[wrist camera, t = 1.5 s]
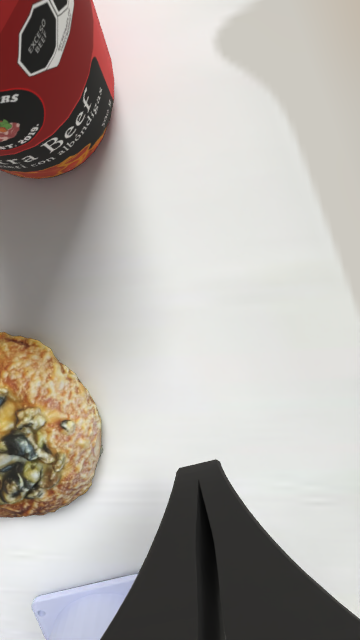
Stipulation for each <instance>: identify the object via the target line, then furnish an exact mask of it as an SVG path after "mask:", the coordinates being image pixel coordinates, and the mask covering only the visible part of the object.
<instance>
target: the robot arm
mask: <svg viewBox="0 0 360 640" xmlns="http://www.w3.org/2000/svg"><path fill="white" fill-rule="evenodd" d="M32 610H33V612H34V614H35V616H36V619H37V621H38V623H39V625H40V628H41V630H42V632H43V634H44V636H45V639H46V640H360V619H359V618H358V617H357V616H355V615H354V614H353V613H352V612H350V611H349V610H348V609H347V608H345V607H344V606H343V605H342V604H340V603H339V602H338V601H337V600H336V599H335V598H334V597H332V596H331V595H330V594H329V593H328V592H327V591H326V590H325V589H323V588H322V587H321V586H320V585H319V584H318V583H317V582H316V581H314V580H313V579H312V578H311V577H310V576H309V575H308V574H307V573H305V572H304V571H303V570H302V569H301V568H300V567H299V566H298V565H297V564H296V563H295V562H294V561H293V560H292V559H291V558H290V557H289V556H288V555H287V554H286V553H285V552H284V551H283V550H282V549H281V547H280V546H279V545H278V544H277V543H276V542H275V541H274V540H273V539H272V538H271V537H270V535H269V534H268V533H267V532H266V531H265V530H264V528H263V527H262V526H261V525H260V524H259V522H258V521H257V520H256V519H255V518H254V516H253V515H252V514H251V512H250V511H249V510H248V508H247V507H246V506H245V504H244V503H243V501H242V500H241V499H240V497H239V496H238V494H237V493H236V491H235V490H234V488H233V487H232V485H231V484H230V482H229V480H228V478H227V477H226V475H225V473H224V471H223V469H222V466H221V463H220V462H219V461H218V460H212V461H208V462H203V463H199V464H195V465H191V466H186V467H182V468H179V469H178V471H177V473H176V478H175V481H174V485H173V489H172V492H171V495H170V498H169V502H168V505H167V507H166V510H165V513H164V516H163V518H162V521H161V524H160V526H159V529H158V531H157V534H156V536H155V538H154V541H153V543H152V545H151V548H150V550H149V552H148V555H147V557H146V559H145V561H144V563H143V565H142V567H141V569H140V571H139V573H137V574H133V575H128V576H124V577H120V578H115V579H111V580H107V581H102V582H98V583H93V584H89V585H85V586H80V587H76V588H72V589H67V590H63V591H59V592H54V593H50V594H45V595H41V596H38V597H36V598H35V599H34V601H33V603H32Z"/></svg>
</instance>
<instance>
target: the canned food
mask: <svg viewBox="0 0 360 640" xmlns="http://www.w3.org/2000/svg"><path fill="white" fill-rule="evenodd" d="M113 101H114V76H113V69H112V62H111V58H110V55H109V52H108V48H107V45H106V42H105V39H104V36H103V32H102V29H101V26H100V23H99V20H98V17H97V13H96V10H95V7H94V4H93V1H92V0H0V170H2V171H4V172H7V173H10V174H13V175H16V176H20V177H25V178H36V179H40V178H47V177H54V176H57V175H60V174H62V173H65V172H68V171H70V170H73V169H74V168H76V167H77V166H79V165H80V164H82V163H83V162H84V161H85V160H86V159H87V158H88V157H89V156H90V155H91V154H92V153H93V152H94V151H95V149H96V148H97V146H98V145H99V143H100V142H101V140H102V139H103V136H104V134H105V131H106V128H107V126H108V123H109V120H110V116H111V111H112V106H113Z"/></svg>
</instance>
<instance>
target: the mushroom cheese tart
mask: <svg viewBox="0 0 360 640" xmlns="http://www.w3.org/2000/svg"><path fill="white" fill-rule="evenodd" d="M102 452H103V449H102V445H101V418H100V416H99V414H98V410H97V407H96V405H95V403H94V401H93V399H92V398H91V396H90V395H89V392H88V390H87V389H86V388H85V387H84V386H83V384H82V383H81V382H80V381H79V380H78V377H77V376H76V374H75V373H74V372H72V371H71V370H70V369H69V368H68V367H67V366H65V365H63V364H62V363H60V362H59V361H58V360H57V359H56V358H55V356H54V354H53V352H52V351H51V349H50V348H49V347H47V346H45V345H43V344H42V343H41V342H40V341H37V340H35V339H31V338H25V337H22V336H11V335H9V334H7V333H5V332H0V517H11V518H13V517H22V516H24V517H26V516H31V515H44V514H46V513H48V512H55V511H56V510H57V509H59V508H61V507H63V506H66V505H68V504H69V503H71V502H72V501H73V500H75V499H76V498H77V497H78V496H81V495H83V494H84V493H86V492H87V491H88V489H89V487H90V486H91V485H92V482H91V481H92V478H93V477H94V473H95V469H96V466H97V462H98V459H99V457H100V456H101V453H102Z"/></svg>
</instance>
